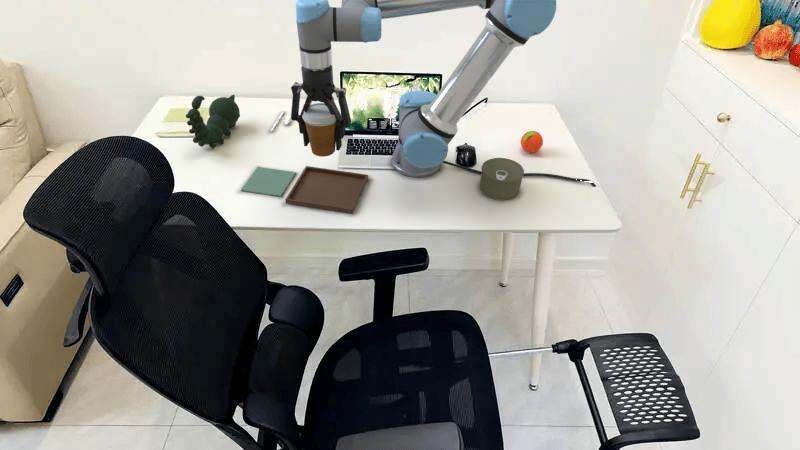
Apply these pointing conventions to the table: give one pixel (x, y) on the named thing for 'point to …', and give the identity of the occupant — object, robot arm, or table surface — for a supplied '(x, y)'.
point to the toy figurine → (213, 120)
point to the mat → (268, 181)
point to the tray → (328, 189)
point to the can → (501, 178)
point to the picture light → (279, 119)
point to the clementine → (531, 141)
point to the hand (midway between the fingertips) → (323, 145)
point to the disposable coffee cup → (320, 129)
